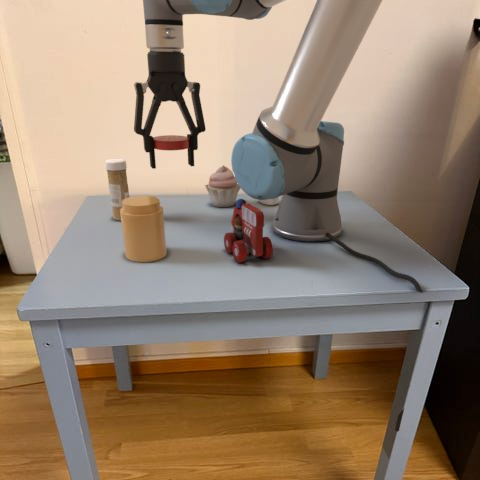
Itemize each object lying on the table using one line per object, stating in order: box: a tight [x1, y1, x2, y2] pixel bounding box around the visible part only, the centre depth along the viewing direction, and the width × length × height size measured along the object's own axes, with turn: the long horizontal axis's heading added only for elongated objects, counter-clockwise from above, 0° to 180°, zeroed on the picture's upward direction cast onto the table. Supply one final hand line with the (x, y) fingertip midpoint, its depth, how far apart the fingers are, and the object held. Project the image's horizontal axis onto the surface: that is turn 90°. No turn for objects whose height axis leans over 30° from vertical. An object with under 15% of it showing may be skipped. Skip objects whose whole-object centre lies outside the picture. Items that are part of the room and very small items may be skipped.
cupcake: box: [204, 165, 241, 208], centre depth 117 cm, size 9×9×10 cm
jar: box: [120, 195, 168, 263], centre depth 86 cm, size 8×8×11 cm
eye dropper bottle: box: [258, 197, 279, 206], centre depth 118 cm, size 4×6×12 cm
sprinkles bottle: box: [104, 158, 130, 222], centre depth 105 cm, size 5×5×13 cm
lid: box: [153, 134, 190, 151], centre depth 101 cm, size 8×8×2 cm
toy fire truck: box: [223, 198, 274, 263], centre depth 87 cm, size 7×12×10 cm, turn 22°
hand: (172, 166), depth 104 cm, fingers closed on lid, 8 cm apart
